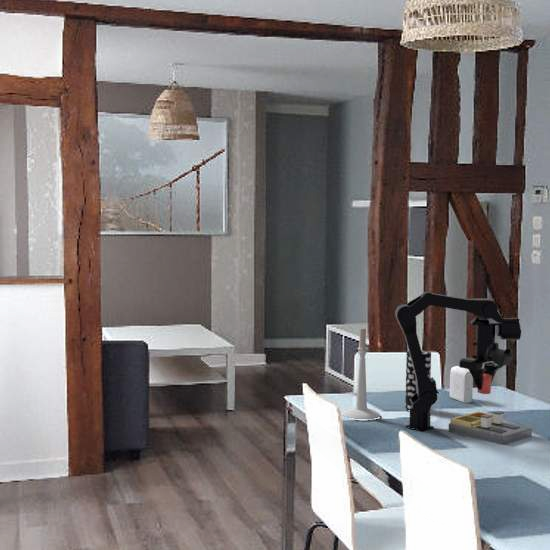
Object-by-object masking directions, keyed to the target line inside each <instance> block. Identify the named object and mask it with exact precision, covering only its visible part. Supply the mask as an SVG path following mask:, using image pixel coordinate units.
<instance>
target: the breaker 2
mask: <svg viewBox="0 0 550 550" xmlns="http://www.w3.org/2000/svg"><path fill="white" fill-rule="evenodd" d="M492 413H493V414H492V415H493V423H497V424H501V423H503V422H504V414H505V413H504V411H501V410H496V411H495V410H494V411H493V412H492Z"/></svg>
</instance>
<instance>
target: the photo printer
mask: <svg viewBox="0 0 550 550" xmlns="http://www.w3.org/2000/svg"><path fill="white" fill-rule="evenodd" d="M473 385H474V379H473V377H472V375H471V373H470V371H469V369H466V368H460V367H459V365H455V366H452V367H451V369H450V373H449V397H450V398H451V399H453V400H456V401H459V402H462V403H463V404H471V403H472V401H473V396H474V394H473V388H474V386H473ZM470 402H471V403H470Z"/></svg>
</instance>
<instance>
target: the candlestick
mask: <svg viewBox="0 0 550 550" xmlns="http://www.w3.org/2000/svg"><path fill="white" fill-rule="evenodd" d="M366 339H367V328H366V327H360V328H359V347H357V348H356V349H357V350H358V355H359V359H358V360H359V361H358V375H357V376H358V377H357V389H356V401H355V402H356V403H355V407H352V408H349V409H346V410H345V411H343V412H342V414H341V417H342V416H344V417H347V418H354V419H374V418H378V417H380V416H382V415H381V414H380V413H379V412H378V411H377V410H374V409H372V408H369V407H368V406H367V405H368V404H367V403H368V401H367V377H366V376H367V374H366V358H365V357H366V354H367V350H368V349H369V348H368V347H367V346H366V345H367V343H366V341H367V340H366Z"/></svg>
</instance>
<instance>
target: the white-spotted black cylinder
mask: <svg viewBox="0 0 550 550" xmlns="http://www.w3.org/2000/svg"><path fill="white" fill-rule="evenodd" d="M421 351H422V355H423V359H424V363H425V366H426V370H427V374H428V376H429V378H432V377H431V375H432V374H431V373H432V371H431V370H432V352H431V351H426V350H421ZM405 356H406V357H405V358H406V359H405V360H406V362H405V365H406V366H405V400H404V402H405V406H404V409H405V408H406V409H407V410H410V409H411V407H412V405H411V403H410V400H409V399H410V398H411V397H412V396H413V395H414V394H416V377H415V372H414V369H413V365H412V361H411V357H410V354H409V350H408V351H406V355H405Z"/></svg>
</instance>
